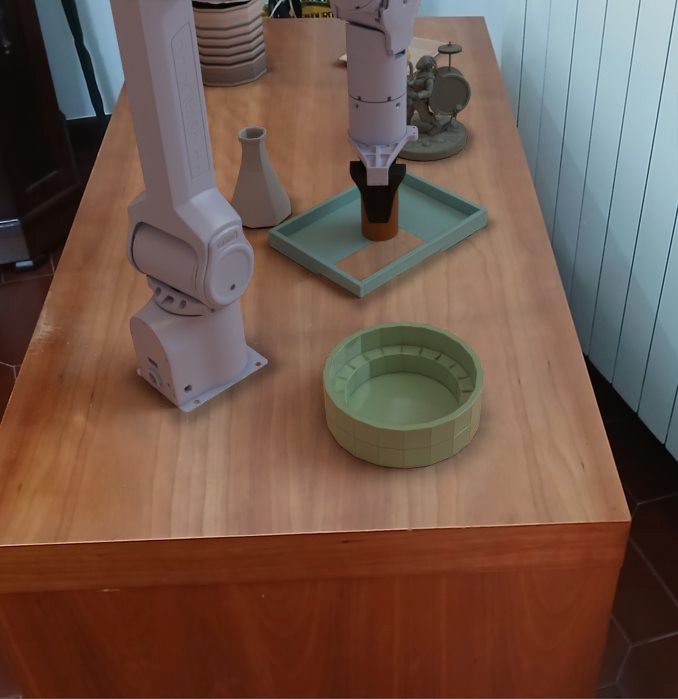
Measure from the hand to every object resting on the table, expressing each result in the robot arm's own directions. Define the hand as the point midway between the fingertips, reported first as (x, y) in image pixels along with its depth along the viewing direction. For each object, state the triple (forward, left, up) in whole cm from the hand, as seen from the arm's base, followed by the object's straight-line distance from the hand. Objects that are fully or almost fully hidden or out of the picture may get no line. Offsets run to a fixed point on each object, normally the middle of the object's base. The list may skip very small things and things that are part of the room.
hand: (378, 209), depth 98 cm
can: (+15, +46, -3) cm, 48 cm away
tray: (0, 0, -3) cm, 3 cm away
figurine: (+19, +11, -3) cm, 22 cm away
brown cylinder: (0, 0, -3) cm, 3 cm away
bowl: (-18, -21, -3) cm, 28 cm away
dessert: (+34, +31, -3) cm, 46 cm away
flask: (-6, +13, -3) cm, 15 cm away
